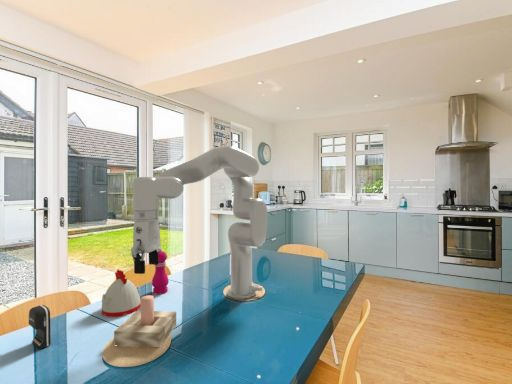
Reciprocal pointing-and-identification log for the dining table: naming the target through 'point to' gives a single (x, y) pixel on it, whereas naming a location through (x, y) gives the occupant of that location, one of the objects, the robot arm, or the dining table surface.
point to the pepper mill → (160, 275)
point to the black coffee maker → (40, 325)
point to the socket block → (145, 330)
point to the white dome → (120, 297)
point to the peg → (147, 310)
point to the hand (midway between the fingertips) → (147, 268)
